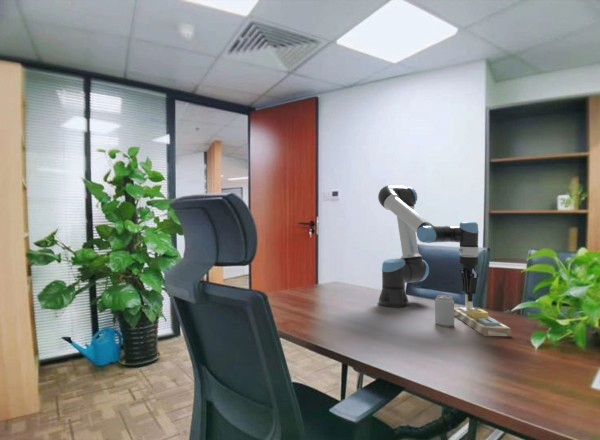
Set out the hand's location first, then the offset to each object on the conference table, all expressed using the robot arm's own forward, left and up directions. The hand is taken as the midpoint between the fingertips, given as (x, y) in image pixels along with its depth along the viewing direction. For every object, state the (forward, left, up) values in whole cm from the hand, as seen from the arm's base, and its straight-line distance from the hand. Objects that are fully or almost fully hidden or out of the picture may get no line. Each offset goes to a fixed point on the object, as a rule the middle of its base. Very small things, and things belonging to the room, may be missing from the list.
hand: (468, 308), depth 152 cm
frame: (+9, 0, -5) cm, 10 cm away
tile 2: (+9, 0, -2) cm, 9 cm away
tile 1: (0, 0, -3) cm, 3 cm away
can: (+10, -15, -5) cm, 18 cm away
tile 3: (+17, 0, -3) cm, 18 cm away
